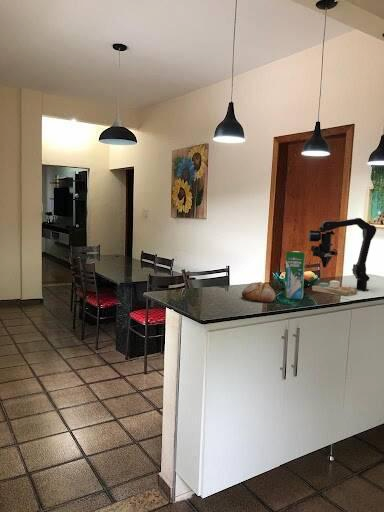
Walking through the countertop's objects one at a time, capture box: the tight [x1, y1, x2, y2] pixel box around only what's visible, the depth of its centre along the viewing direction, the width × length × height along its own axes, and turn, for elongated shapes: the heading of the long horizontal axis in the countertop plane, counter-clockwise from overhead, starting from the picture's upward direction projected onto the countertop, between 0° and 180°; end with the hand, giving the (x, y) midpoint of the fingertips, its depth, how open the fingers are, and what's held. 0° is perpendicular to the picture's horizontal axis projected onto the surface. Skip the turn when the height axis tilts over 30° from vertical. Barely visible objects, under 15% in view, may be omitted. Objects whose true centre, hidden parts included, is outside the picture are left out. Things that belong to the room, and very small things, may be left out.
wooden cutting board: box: [311, 284, 359, 297], centre depth 238 cm, size 12×22×2 cm, turn 41°
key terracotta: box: [340, 285, 352, 291], centre depth 233 cm, size 4×4×4 cm
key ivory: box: [329, 279, 341, 288], centre depth 238 cm, size 4×4×4 cm
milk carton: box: [283, 250, 306, 300], centre depth 219 cm, size 9×9×25 cm
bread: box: [241, 281, 276, 303], centre depth 213 cm, size 16×20×10 cm
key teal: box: [318, 282, 330, 287], centre depth 243 cm, size 4×4×4 cm
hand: (324, 267), depth 248 cm, fingers closed
